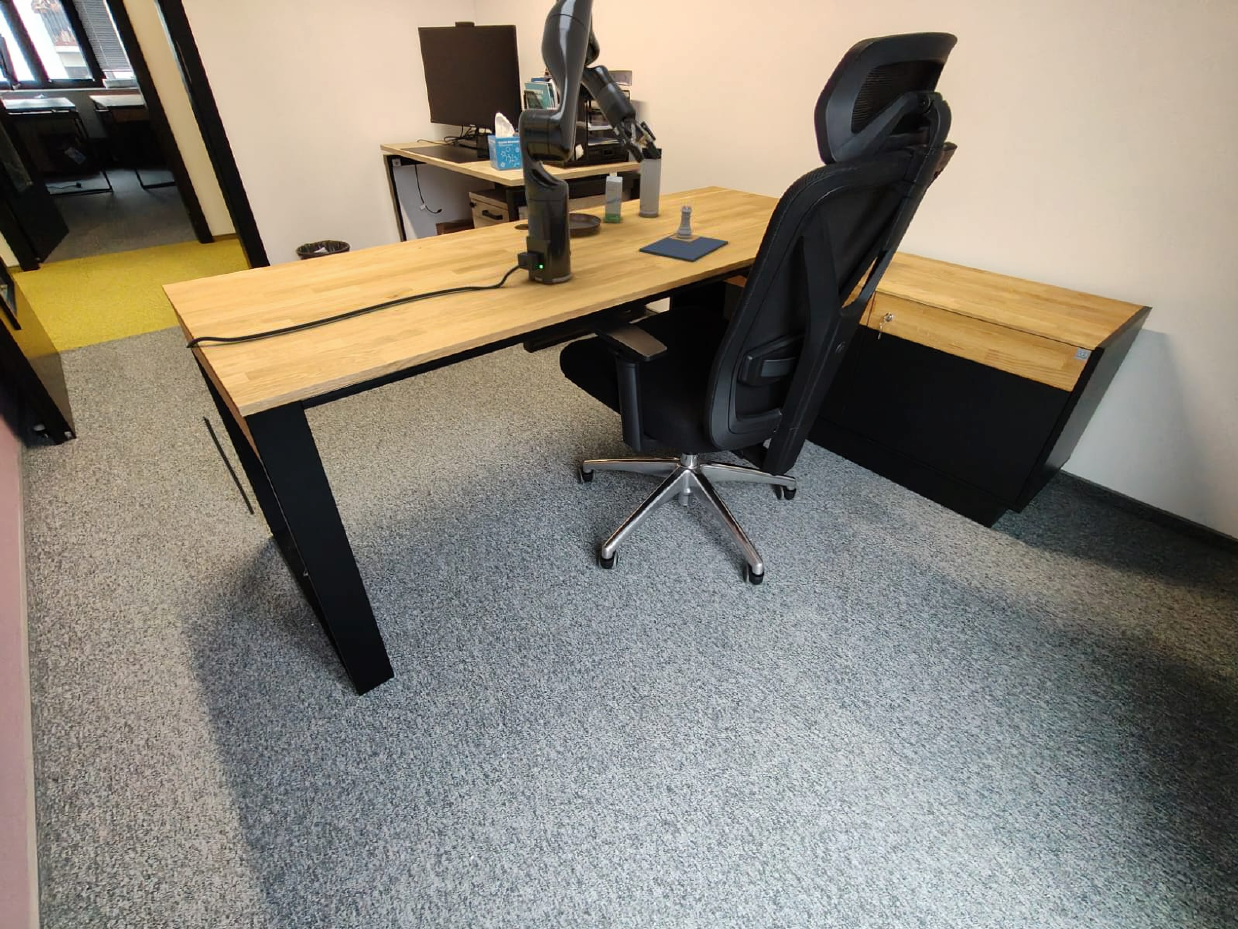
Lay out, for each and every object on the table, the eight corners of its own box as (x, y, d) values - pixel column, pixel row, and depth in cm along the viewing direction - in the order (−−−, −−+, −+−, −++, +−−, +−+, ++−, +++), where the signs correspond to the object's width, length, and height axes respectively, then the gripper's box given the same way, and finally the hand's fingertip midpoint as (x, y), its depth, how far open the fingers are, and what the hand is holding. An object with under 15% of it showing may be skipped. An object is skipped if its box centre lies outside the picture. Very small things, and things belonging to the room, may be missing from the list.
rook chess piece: (681, 234, 161) (683, 204, 157) (694, 236, 159) (697, 206, 155) (673, 237, 159) (675, 206, 154) (686, 239, 156) (689, 209, 152)
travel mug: (637, 217, 181) (640, 146, 169) (640, 212, 186) (643, 143, 174) (657, 218, 180) (661, 147, 168) (659, 213, 185) (663, 144, 173)
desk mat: (692, 262, 143) (692, 258, 142) (639, 251, 149) (639, 247, 149) (728, 243, 158) (728, 240, 157) (678, 234, 164) (678, 231, 164)
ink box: (605, 216, 181) (605, 175, 174) (621, 216, 181) (622, 176, 174) (604, 222, 174) (604, 180, 167) (621, 223, 174) (622, 181, 167)
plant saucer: (559, 241, 155) (559, 230, 153) (531, 227, 167) (530, 216, 165) (613, 233, 163) (613, 222, 161) (582, 220, 175) (582, 210, 173)
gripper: (609, 96, 143) (645, 151, 145) (638, 94, 153) (671, 146, 154) (592, 119, 148) (627, 172, 150) (621, 116, 158) (654, 166, 160)
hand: (650, 159), depth 152 cm, fingers open, 8 cm apart
